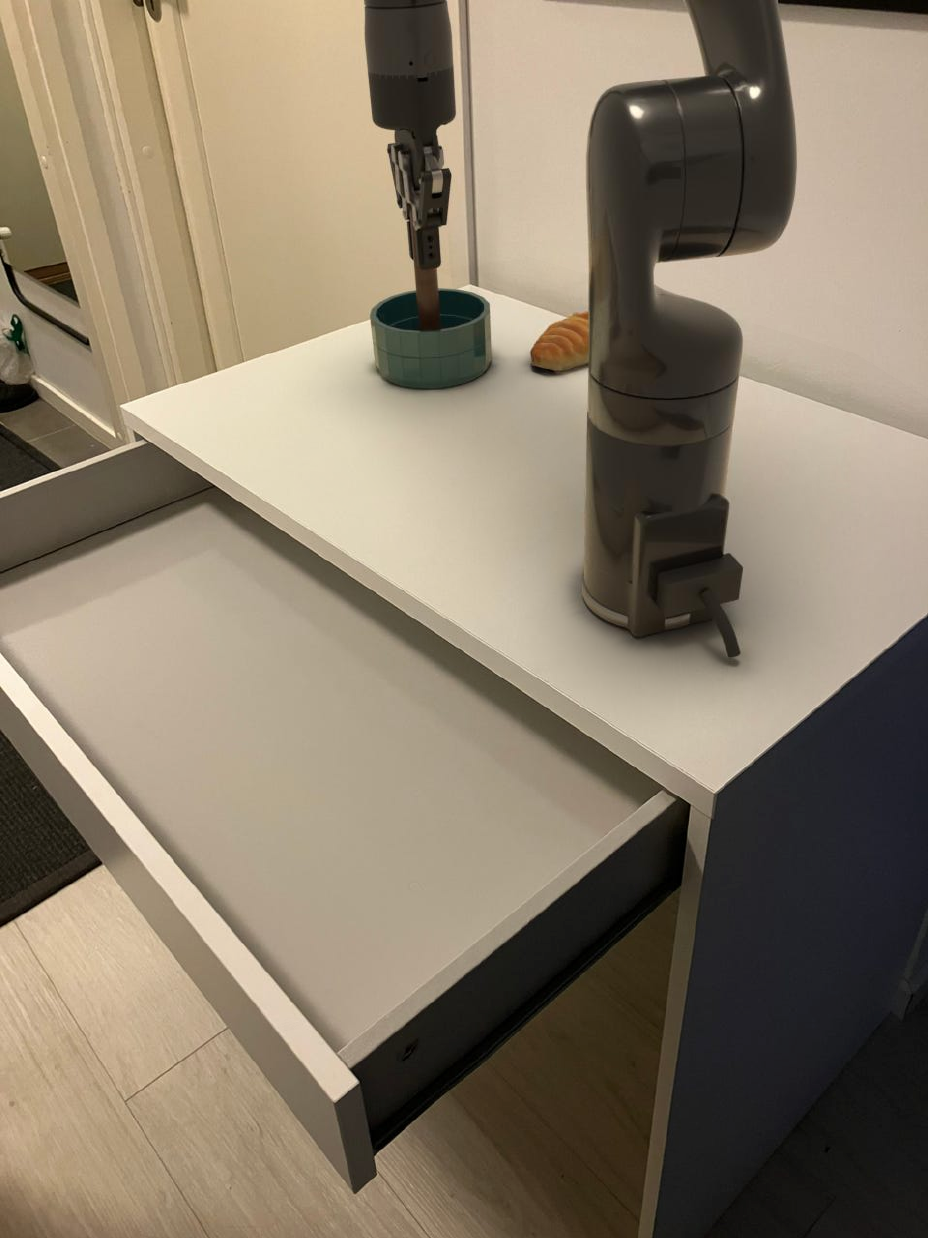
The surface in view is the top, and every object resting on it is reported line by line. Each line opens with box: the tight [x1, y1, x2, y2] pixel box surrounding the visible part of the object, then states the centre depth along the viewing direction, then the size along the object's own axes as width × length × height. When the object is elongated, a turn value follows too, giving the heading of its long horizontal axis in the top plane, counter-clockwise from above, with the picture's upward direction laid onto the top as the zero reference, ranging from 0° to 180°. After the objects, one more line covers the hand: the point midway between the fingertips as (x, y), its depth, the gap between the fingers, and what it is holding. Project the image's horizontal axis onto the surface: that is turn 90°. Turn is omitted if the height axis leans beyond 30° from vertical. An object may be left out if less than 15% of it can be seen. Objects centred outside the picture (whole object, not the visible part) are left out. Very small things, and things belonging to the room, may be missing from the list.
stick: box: [410, 209, 441, 331], centre depth 100 cm, size 4×4×14 cm
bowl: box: [369, 287, 493, 390], centre depth 105 cm, size 12×12×6 cm
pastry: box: [529, 311, 589, 373], centre depth 106 cm, size 9×7×4 cm
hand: (425, 262), depth 99 cm, fingers closed on stick, 2 cm apart
